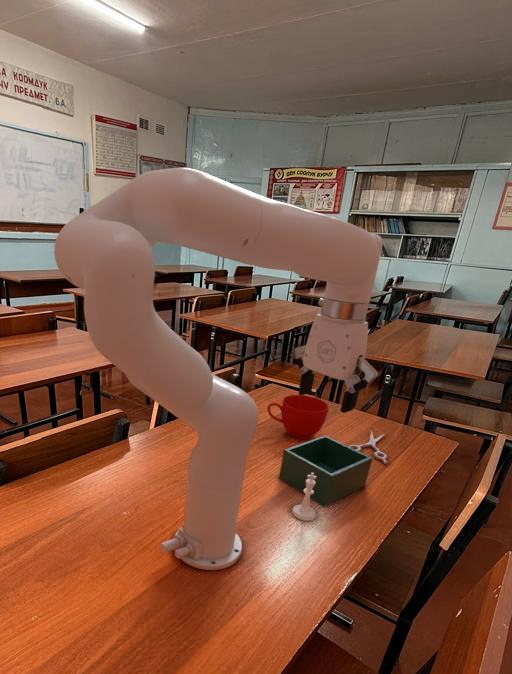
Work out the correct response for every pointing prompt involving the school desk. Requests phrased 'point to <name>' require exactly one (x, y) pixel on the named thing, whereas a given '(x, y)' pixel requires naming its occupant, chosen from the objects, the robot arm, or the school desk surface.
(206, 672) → the school desk surface
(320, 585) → the school desk surface
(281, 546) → the school desk surface
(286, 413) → the ceramic cup
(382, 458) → the scissors
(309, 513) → the chess piece
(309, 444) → the bin
